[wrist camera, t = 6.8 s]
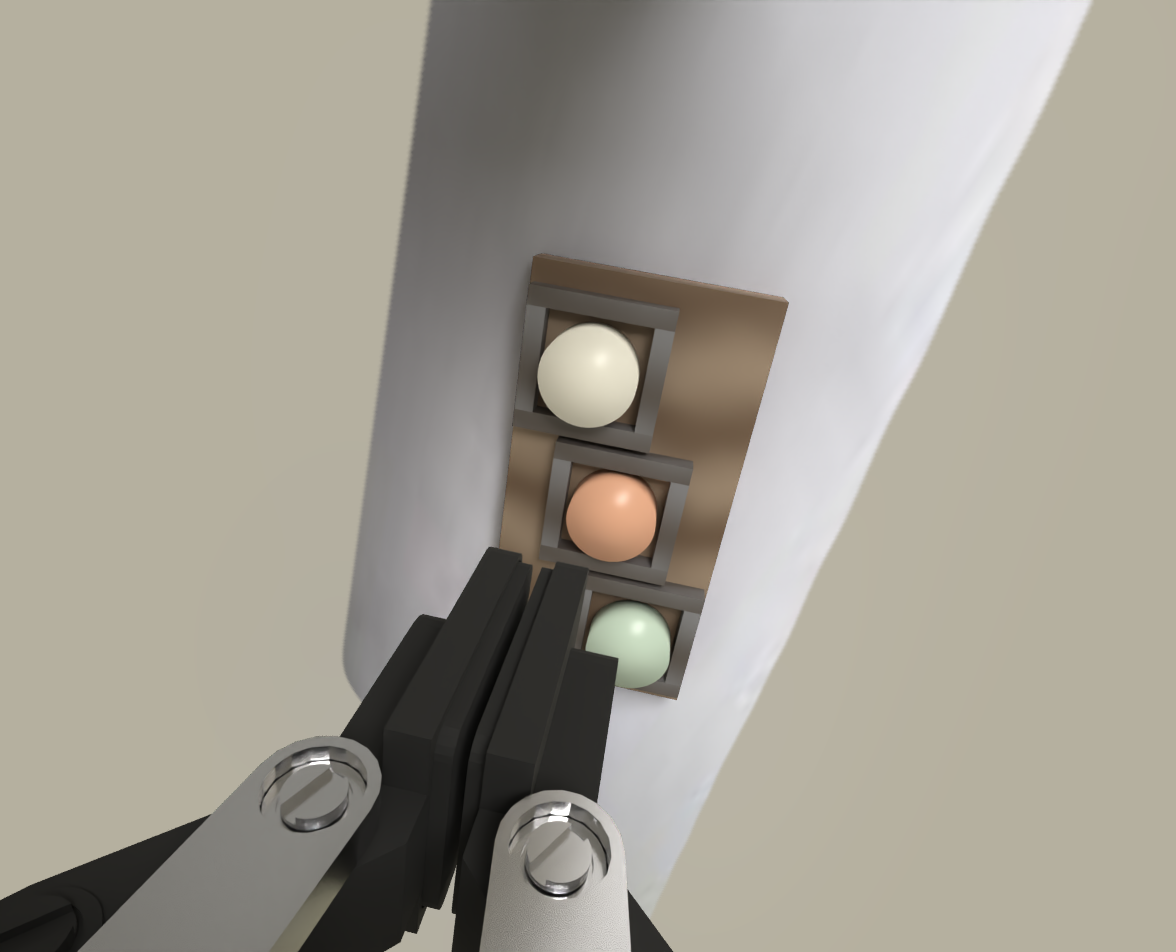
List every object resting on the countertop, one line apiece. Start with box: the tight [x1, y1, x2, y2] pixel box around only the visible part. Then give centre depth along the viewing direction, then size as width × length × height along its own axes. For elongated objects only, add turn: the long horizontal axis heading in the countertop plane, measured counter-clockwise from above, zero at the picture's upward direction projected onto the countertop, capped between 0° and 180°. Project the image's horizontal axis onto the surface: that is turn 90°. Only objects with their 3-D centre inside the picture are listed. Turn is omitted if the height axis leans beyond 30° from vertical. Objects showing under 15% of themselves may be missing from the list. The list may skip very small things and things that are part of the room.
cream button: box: [537, 322, 640, 428], centre depth 33 cm, size 5×5×2 cm
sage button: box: [586, 600, 671, 688], centre depth 39 cm, size 5×5×2 cm
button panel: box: [499, 253, 789, 700], centre depth 38 cm, size 26×13×3 cm, turn 171°
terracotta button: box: [566, 469, 657, 562], centre depth 37 cm, size 5×5×2 cm
